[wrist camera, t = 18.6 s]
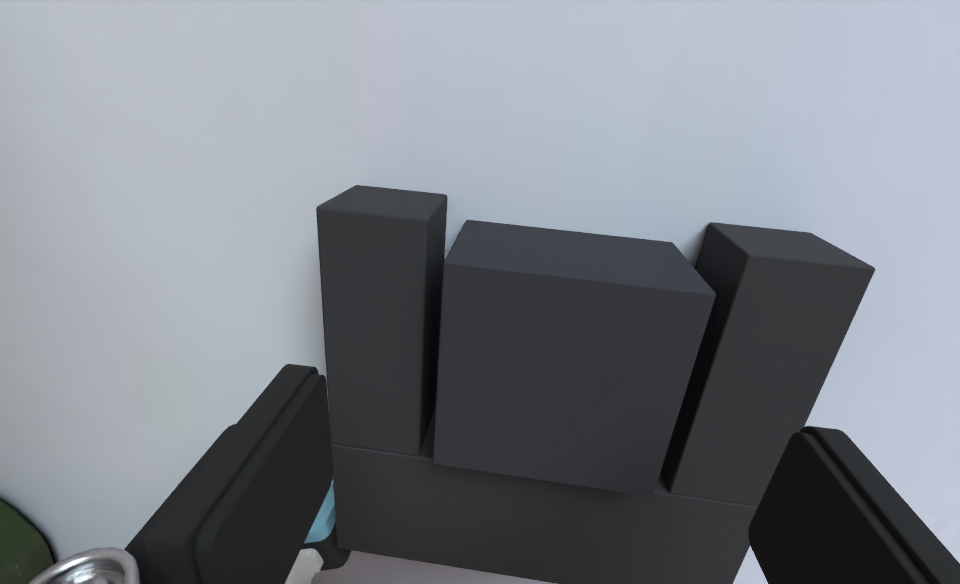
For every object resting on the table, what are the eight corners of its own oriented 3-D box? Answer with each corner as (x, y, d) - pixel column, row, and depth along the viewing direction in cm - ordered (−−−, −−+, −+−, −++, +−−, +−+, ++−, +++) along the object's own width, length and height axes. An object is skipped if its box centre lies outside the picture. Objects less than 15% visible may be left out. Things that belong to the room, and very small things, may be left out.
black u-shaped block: (355, 184, 15) (314, 206, 12) (811, 232, 14) (877, 267, 11) (363, 486, 20) (336, 548, 18) (695, 536, 19) (721, 611, 17)
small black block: (466, 219, 15) (442, 261, 11) (672, 242, 15) (717, 293, 11) (454, 387, 18) (432, 465, 14) (629, 411, 17) (653, 497, 14)
